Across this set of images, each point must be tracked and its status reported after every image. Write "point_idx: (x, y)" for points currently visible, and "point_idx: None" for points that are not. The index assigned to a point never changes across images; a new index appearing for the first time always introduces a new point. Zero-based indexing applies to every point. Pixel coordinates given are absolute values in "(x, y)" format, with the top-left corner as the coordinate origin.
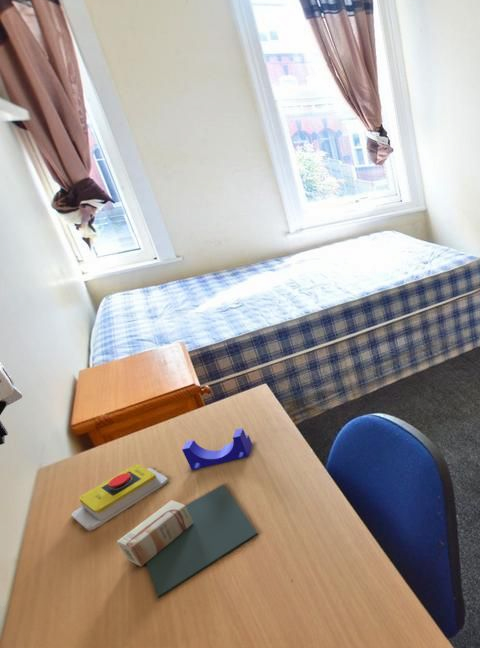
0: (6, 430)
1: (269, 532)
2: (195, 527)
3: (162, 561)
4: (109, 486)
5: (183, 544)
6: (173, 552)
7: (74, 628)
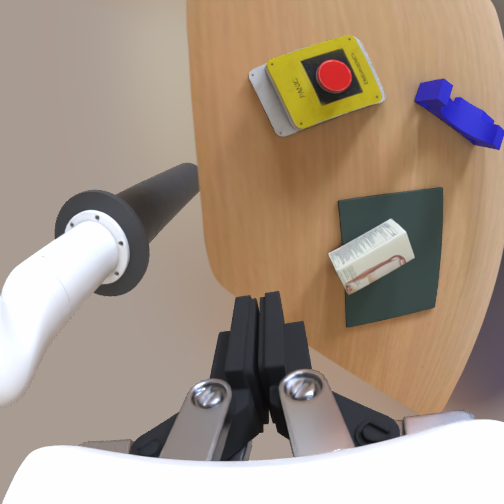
0: (303, 324)
1: (440, 310)
2: None
3: None
4: (319, 82)
5: None
6: None
7: None
